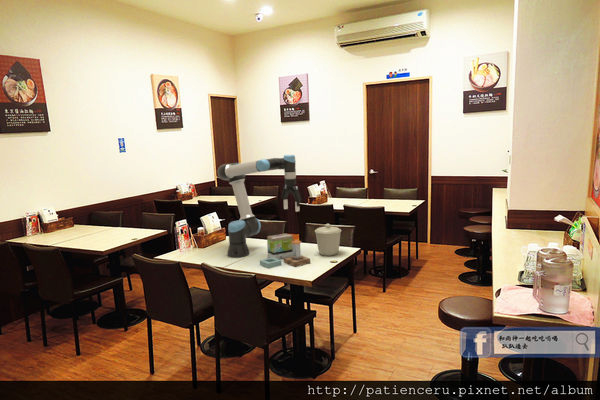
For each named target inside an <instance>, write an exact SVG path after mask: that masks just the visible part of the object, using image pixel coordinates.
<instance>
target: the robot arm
mask: <svg viewBox="0 0 600 400" xmlns="http://www.w3.org/2000/svg"><path fill="white" fill-rule="evenodd" d="M275 170H283V171H284V185H283V187H282V188H283V189H282V193H281V197H280V198H281V199H282V200H283V210H288V208H289V206H288V205H289V203H288V201H289V200H288V197H289V195H290V193H291V194H292V196H293V198H294V200H295V201H294V204H295V207H294V208H295V209H294V210H295V212H296V213H297V212H300V210H301V209H300V202H301V201H302V200H303V199H302V197H301V193H300V191H299V186H298V185H297V186H296V184H297V178H296V177H297V172H296V171H297V170H296V156H295V155H294V154H285V155H283V157H280V158H279V157H272V158H271V157H270V158H265V159H264V158H261V159H259V160H253V161H249V162H243V163H239V162H233V163H232V162H231V163H223V164H221V165H220V166H219V167H218V168H217V176H218V178H219V179H220V180H223V181H228V184H229V185H231V186H232V187H231V188H232V190H233V193H234V199H235V201H236V205H237V208H238V212H239V215H240V218H239V220H234V221H231V222H229V223H228V228H227V230H228V244H229V245H228V249H227V253H226V254H227V257H229V258H238V259H239V258H243V257H248V256H249V255H250V249H249V247H248V244H247V238H250V237H253V236H256V235H257V234H258V233H260V231H261V227H262V225H261V221H260V220H259V219H258V218H256V215H254V214H253V212H252V208H251V204H250V201H249V197H248V194H247V190H246V185H245V180H246V178H245V177H246V175H248V174H255V173H256V174H257V173H260V172H268V171H275Z"/></svg>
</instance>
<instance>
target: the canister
mask: <svg viewBox="0 0 600 400" xmlns="http://www.w3.org/2000/svg"><path fill="white" fill-rule="evenodd" d="M324 225H325V226H320V227H317V228H316V229H315V230H314V233H315V236H316V237H315V238H316V243H317V250H318V251H317V252H318V253H319V254H320V255H321V256H323V257H324V256H326V257H329V256H335V255H337V254H338V253H339V250H340V244H341V243H340V241H341V232H342V229H341V228H339V227H338V226H331V224H330V223H326V224H324Z"/></svg>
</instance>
